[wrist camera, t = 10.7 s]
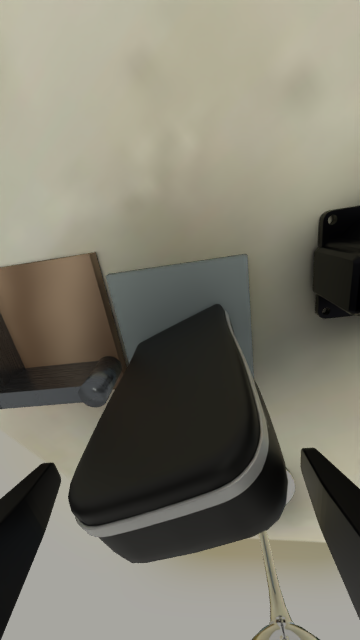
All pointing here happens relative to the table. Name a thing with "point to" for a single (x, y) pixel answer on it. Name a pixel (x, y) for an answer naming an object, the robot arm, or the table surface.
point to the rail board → (59, 312)
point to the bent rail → (53, 379)
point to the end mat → (182, 298)
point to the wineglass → (279, 594)
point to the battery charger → (181, 449)
